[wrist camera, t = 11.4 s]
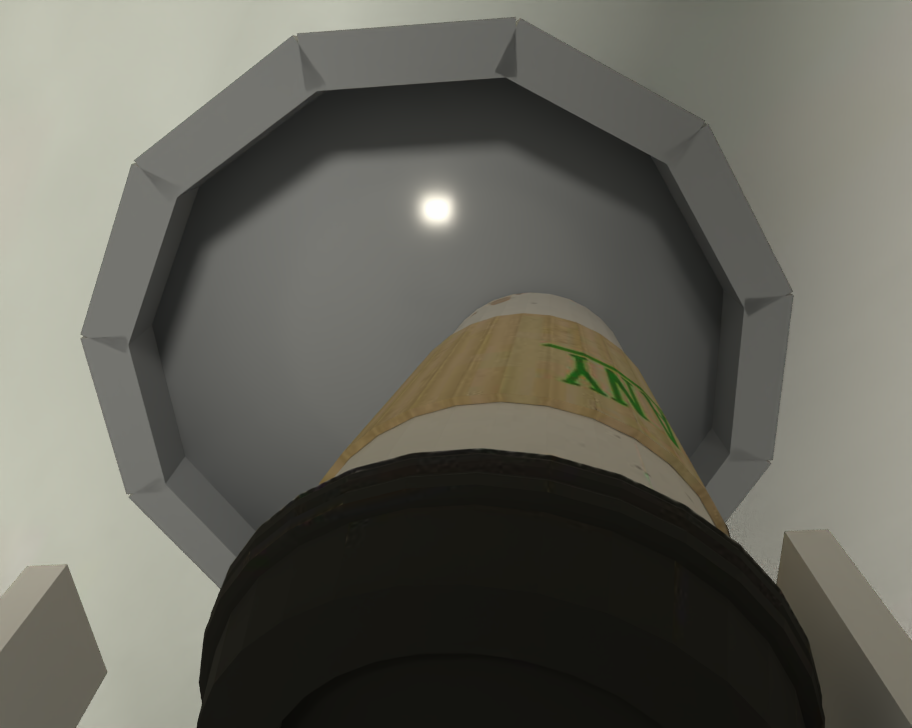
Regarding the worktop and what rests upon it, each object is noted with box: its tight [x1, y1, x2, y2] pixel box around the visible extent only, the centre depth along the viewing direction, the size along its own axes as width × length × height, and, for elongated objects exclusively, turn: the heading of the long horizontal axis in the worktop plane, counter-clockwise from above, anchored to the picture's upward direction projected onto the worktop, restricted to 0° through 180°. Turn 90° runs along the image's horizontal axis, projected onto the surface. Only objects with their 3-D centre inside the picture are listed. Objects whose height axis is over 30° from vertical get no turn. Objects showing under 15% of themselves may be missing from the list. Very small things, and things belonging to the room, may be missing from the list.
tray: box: [81, 17, 793, 589], centre depth 24 cm, size 21×21×3 cm
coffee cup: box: [197, 292, 825, 728], centre depth 17 cm, size 10×10×15 cm
